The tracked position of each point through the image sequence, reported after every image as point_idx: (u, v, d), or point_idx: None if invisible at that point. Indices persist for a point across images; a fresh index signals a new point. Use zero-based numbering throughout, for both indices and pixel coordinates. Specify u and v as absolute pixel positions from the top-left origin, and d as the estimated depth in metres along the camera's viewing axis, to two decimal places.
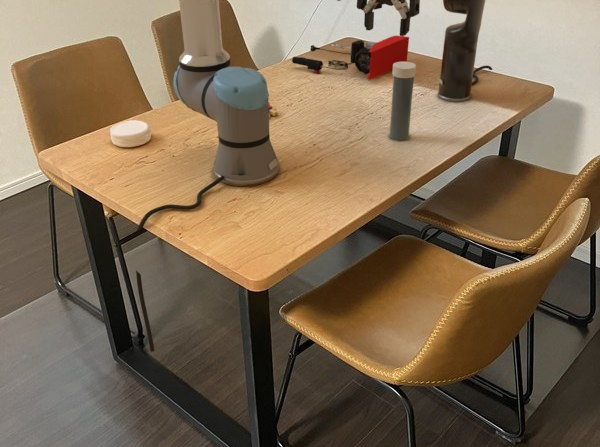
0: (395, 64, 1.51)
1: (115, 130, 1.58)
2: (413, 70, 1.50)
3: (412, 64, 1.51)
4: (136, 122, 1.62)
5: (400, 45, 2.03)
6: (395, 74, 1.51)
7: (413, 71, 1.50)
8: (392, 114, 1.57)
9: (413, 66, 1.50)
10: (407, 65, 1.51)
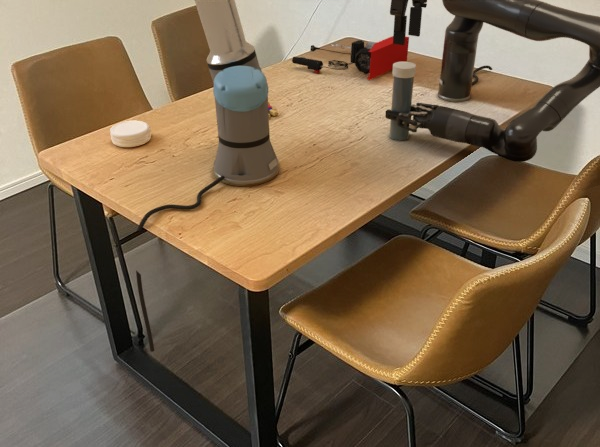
0: (395, 64, 1.51)
1: (115, 130, 1.58)
2: (413, 70, 1.50)
3: (412, 64, 1.51)
4: (136, 122, 1.62)
5: (400, 45, 2.03)
6: (395, 74, 1.51)
7: (413, 71, 1.50)
8: None
9: (413, 66, 1.50)
10: (407, 65, 1.51)
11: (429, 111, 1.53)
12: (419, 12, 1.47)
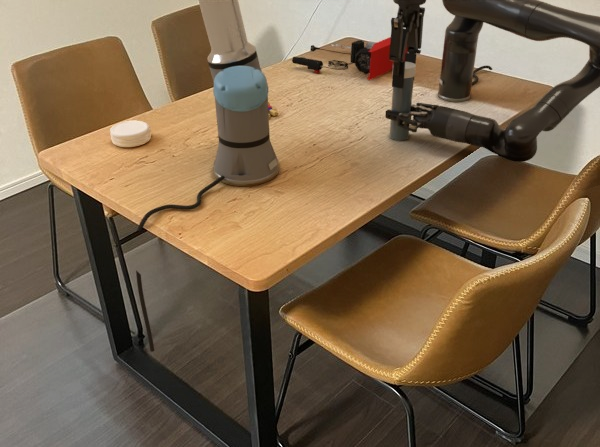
0: None
1: (115, 130, 1.58)
2: (413, 70, 1.50)
3: (412, 64, 1.51)
4: (136, 122, 1.62)
5: None
6: None
7: (413, 71, 1.50)
8: None
9: (413, 66, 1.50)
10: (407, 65, 1.51)
11: (429, 111, 1.53)
12: (413, 58, 1.52)
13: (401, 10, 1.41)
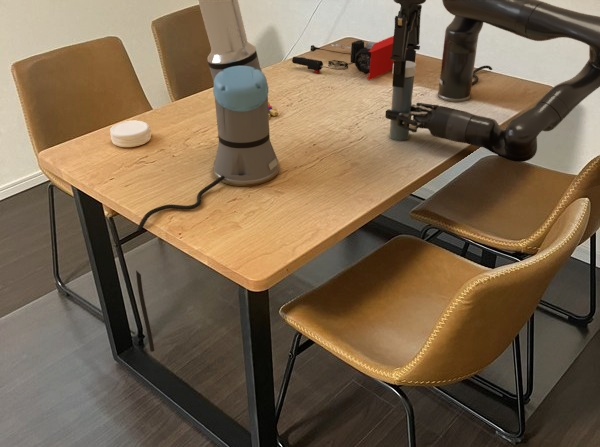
0: None
1: (115, 130, 1.58)
2: None
3: None
4: (136, 122, 1.62)
5: None
6: (409, 74, 1.49)
7: None
8: None
9: (410, 62, 1.52)
10: (406, 63, 1.51)
11: (429, 111, 1.53)
12: (413, 54, 1.53)
13: (403, 9, 1.41)
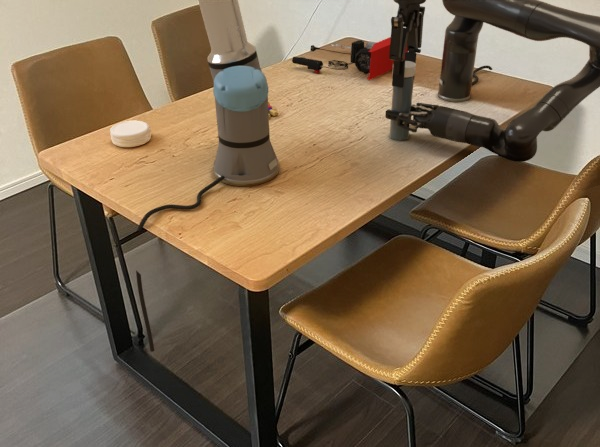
0: None
1: (115, 130, 1.58)
2: None
3: None
4: (136, 122, 1.62)
5: None
6: (409, 74, 1.49)
7: None
8: None
9: (410, 62, 1.52)
10: (406, 63, 1.51)
11: (429, 111, 1.53)
12: (413, 57, 1.52)
13: (401, 9, 1.41)
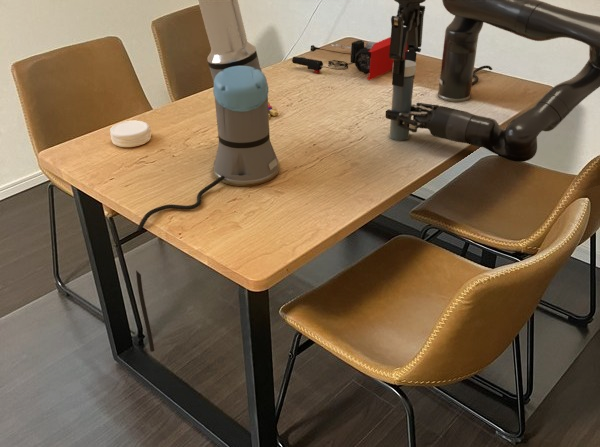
0: (411, 65, 1.49)
1: (115, 130, 1.58)
2: None
3: None
4: (136, 122, 1.62)
5: None
6: None
7: None
8: None
9: None
10: None
11: (429, 111, 1.53)
12: (413, 56, 1.52)
13: (401, 8, 1.41)
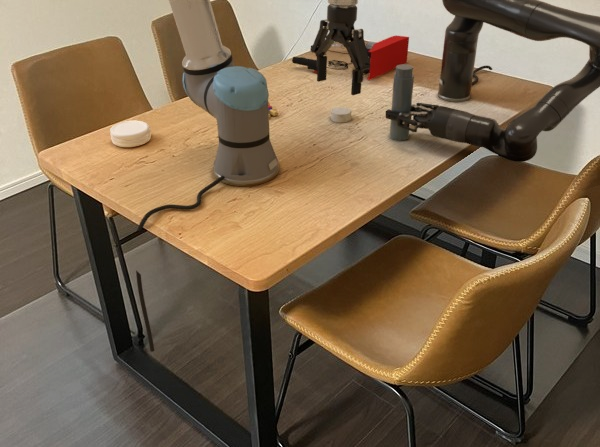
0: (348, 109, 1.71)
1: (115, 130, 1.58)
2: None
3: (336, 112, 1.69)
4: (136, 122, 1.62)
5: (400, 45, 2.03)
6: None
7: None
8: None
9: (332, 111, 1.70)
10: (338, 110, 1.70)
11: (429, 111, 1.53)
12: (326, 59, 1.68)
13: (350, 27, 1.55)
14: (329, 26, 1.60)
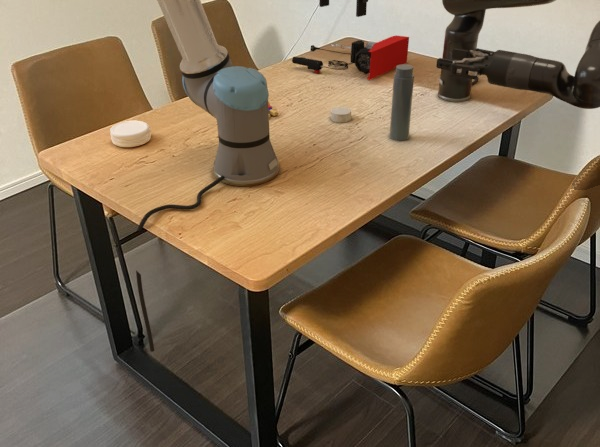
0: (348, 109, 1.71)
1: (115, 130, 1.58)
2: None
3: (336, 112, 1.69)
4: (136, 122, 1.62)
5: (400, 45, 2.03)
6: None
7: None
8: (392, 114, 1.57)
9: (332, 111, 1.70)
10: (338, 110, 1.70)
11: (485, 56, 1.39)
12: None
13: None
14: None
